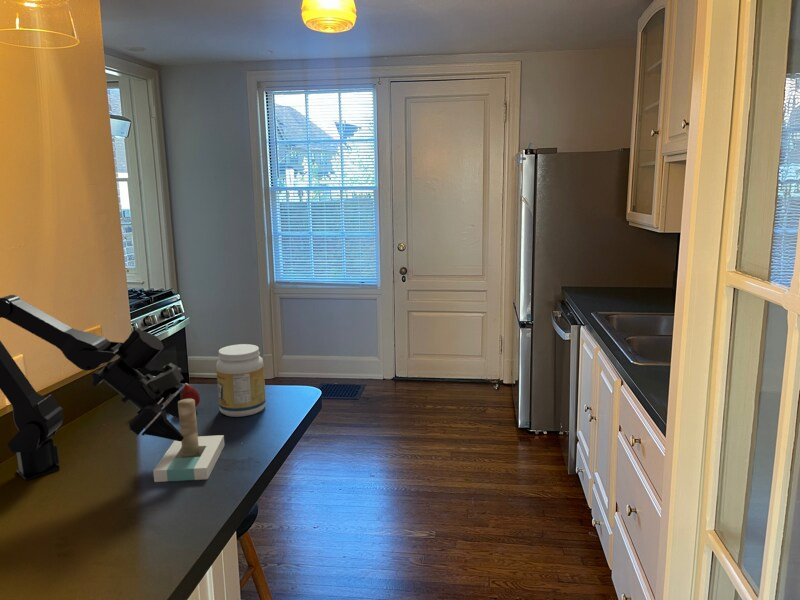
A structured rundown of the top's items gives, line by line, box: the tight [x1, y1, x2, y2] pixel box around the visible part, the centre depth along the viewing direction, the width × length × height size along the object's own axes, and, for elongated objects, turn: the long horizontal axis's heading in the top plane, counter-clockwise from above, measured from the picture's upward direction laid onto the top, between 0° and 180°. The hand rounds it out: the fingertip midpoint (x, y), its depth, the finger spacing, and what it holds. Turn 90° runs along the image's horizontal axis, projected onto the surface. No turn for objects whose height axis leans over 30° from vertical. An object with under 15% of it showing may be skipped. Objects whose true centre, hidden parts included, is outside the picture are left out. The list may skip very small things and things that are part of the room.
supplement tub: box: [215, 343, 267, 418], centre depth 154 cm, size 12×12×17 cm
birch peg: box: [178, 399, 200, 458], centre depth 124 cm, size 3×3×14 cm
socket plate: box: [152, 434, 226, 483], centre depth 125 cm, size 16×11×2 cm, turn 5°
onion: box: [182, 382, 201, 408], centre depth 154 cm, size 6×6×8 cm
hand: (188, 430), depth 124 cm, fingers open, 9 cm apart
